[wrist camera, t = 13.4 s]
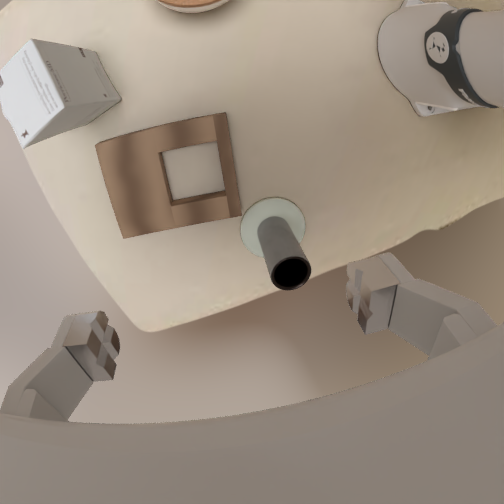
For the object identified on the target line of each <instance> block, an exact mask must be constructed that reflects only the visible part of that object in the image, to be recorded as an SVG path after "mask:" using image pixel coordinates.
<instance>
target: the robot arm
mask: <svg viewBox="0 0 504 504" xmlns="http://www.w3.org/2000/svg"><path fill="white" fill-rule="evenodd" d="M378 52H379V57H380V61H381V64H382V66H383V69H384V71H385V73H386V75H387V77H388V78H389V80H390V81H391V82H392V84H393V85H394V86H395V87H396V88H397V89H398V90H399V91H400V92H401V93H402V94H403V95H405V96H406V97H407V98H408V99H409V100H410V102H411V104H412V106H413V108H414V110H415V111H416V113H417V114H418V115H419V116H431V115H435V114H441V113H446V112H451V111H457V110H462V109H468V108H474V107H479V106H480V107H485V108H498V107H501V108H504V10H500V11H481V10H478V9H470V8H459V9H457V8H455V7H452V6H450V5H448V4H447V3H446V2H434V3H424V2H422V1H420V0H404V2H403V4H402V6H401V8H400V9H399V10H397V11H396V12H394V13H392V14H390V15H389V16H388V17H387V18H386V19H385V20H384V22H383V23H382V25H381V28H380V31H379V35H378ZM428 106H429V109H428ZM347 275H348V276H349V278H350V280H349V281H348V283H347V284H346V294H347V300H348V303H349V306H350V308H351V310H352V311H353V312H355V313H357V314H358V323H359V324H360V326H361V328H362V330H363V332H364V334H370V333H374V332H377V331H381V330H384V329H388V328H389V330H390V331H392V332H393V333H395V334H397V335H398V336H400V337H401V338H403V339H404V340H406V341H407V342H409V343H410V344H412V345H413V346H415V347H416V348H418V349H419V350H421V351H423V352H424V353H426V354H427V355H429V357H428V360H427V361H426V362H423V363H420V364H418V365H416V366H414V367H411V368H408V369H406V370H403V371H401V372H398V373H395V374H393V375H390V376H387V377H384V378H381V379H379V380H376V381H373V382H370V383H367V384H364V385H360V386H357V387H354V388H351V389H348V390H344V391H341V392H338V393H334V394H331V395H327V396H323V397H320V398H316V399H312V400H308V401H304V402H300V403H296V404H291V405H286V406H282V407H277V408H272V409H267V410H262V411H256V412H251V413H245V414H239V415H232V416H225V417H217V418H209V419H200V420H191V421H179V422H165V423H144V424H142V423H141V424H99V423H77V422H69V421H68V418H69V417H70V415H71V414H72V412H73V411H74V410H75V408H76V407H77V405H78V404H79V402H80V401H81V399H82V398H83V397H84V395H85V394H86V392H87V391H88V390H89V388H90V387H91V385H92V384H93V381H106V380H113V378H114V374H115V369H116V363H115V361H114V359H115V358H116V357H117V356H118V354H119V350H120V342H119V338H118V335H117V333H116V331H115V329H114V328H112V327H111V326H109V325H108V318H107V316H106V314H105V313H104V312H102V311H94V312H86V313H79V314H72V315H67V316H65V317H64V319H63V321H62V323H61V325H60V327H59V330H58V332H57V334H56V336H55V339H54V341H53V344H52V346H51V348H47V349H46V350H45V351H44V352H43V353H42V354H41V355H40V356H39V357H38V358H37V359H36V360H35V361H34V362H33V363H32V364H31V365H30V366H29V367H28V368H27V369H26V370H25V371H24V372H23V373H22V374H21V375H20V376H19V377H18V378H17V379H16V380H15V381H14V382H13V383H12V384H11V385H10V386H9V387H8V390H7V392H6V395H5V398H4V401H3V403H2V406H1V410H0V504H504V322H503V323H502V324H500V325H498V326H497V325H496V324H495V322H494V321H493V320H492V319H491V317H490V316H489V315H488V314H487V313H486V312H485V311H484V309H482V307H481V306H480V305H479V304H478V302H475V301H473V300H471V299H468V298H466V297H464V296H461V295H459V294H456V293H454V292H451V291H449V290H446V289H444V288H441V287H439V286H436V285H434V284H431V283H429V282H426V281H424V280H421V279H416V280H415V279H414V278H413V276H412V275H411V274H410V273H409V272H408V271H407V270H406V269H405V267H404V266H403V265H402V264H401V263H400V262H399V261H398V260H397V258H396V257H395V256H394V255H393V254H392V253H389V252H388V253H384V254H381V255H377V256H375V257H371V258H367V259H362V260H358V261H354V262H350V263H348V266H347Z"/></svg>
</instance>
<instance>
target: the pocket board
mask: <svg viewBox="0 0 504 504" xmlns="http://www.w3.org/2000/svg"><path fill="white" fill-rule="evenodd" d="M212 141H217V144H218V150H219V156H220V162H221V168H222V174H223V179H224V185H225V191H220V192H215V193H209V194H204V195H199V196H194V197H189V198H184V199H179V200H174V201H172V197H171V192H170V188H169V184H168V180H167V176H166V171H165V167H164V163H163V158H162V154H161V152H163V151H168V150H172V149H177V148H181V147H186V146H191V145H196V144H201V143H207V142H212ZM95 148H96V151H97V155H98V159H99V163H100V166H101V170H102V174H103V177H104V181H105V184H106V187H107V191H108V194H109V197H110V200H111V204H112V207H113V210H114V213H115V216H116V219H117V222H118V225H119V228H120V231H121V233H122V236H123V239H124V238H129V237H134V236H139V235H143V234H148V233H153V232H158V231H163V230H168V229H173V228H178V227H183V226H188V225H194V224H199V223H204V222H210V221H215V220H221V219H226V218H232V217H237V216H242V213H241V207H240V200H239V194H238V188H237V181H236V175H235V168H234V162H233V156H232V149H231V143H230V136H229V130H228V123H227V117H226V113H225V112H224V113H218V114H213V115H207V116H202V117H196V118H191V119H186V120H182V121H177V122H173V123H168V124H164V125H160V126H155V127H151V128H147V129H144V130H140V131H136V132H132V133H129V134H125V135H122V136H118V137H115V138H112V139H108V140H105V141H102V142H99V143H98V144H96V145H95Z"/></svg>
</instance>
